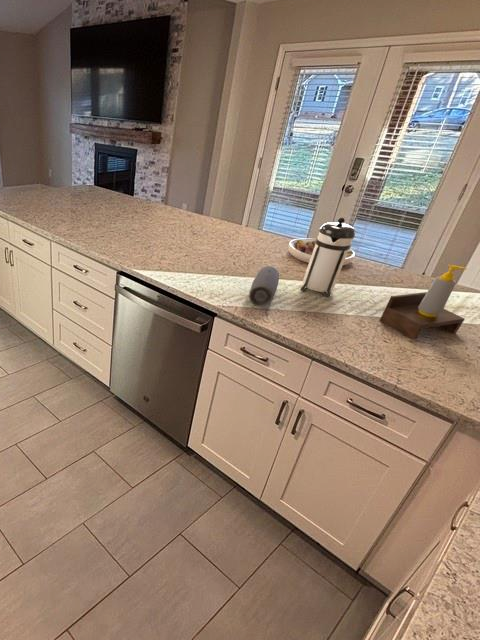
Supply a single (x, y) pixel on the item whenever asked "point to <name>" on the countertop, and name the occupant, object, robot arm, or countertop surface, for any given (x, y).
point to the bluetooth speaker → (264, 286)
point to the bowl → (310, 250)
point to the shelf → (416, 316)
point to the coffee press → (328, 256)
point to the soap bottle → (438, 293)
